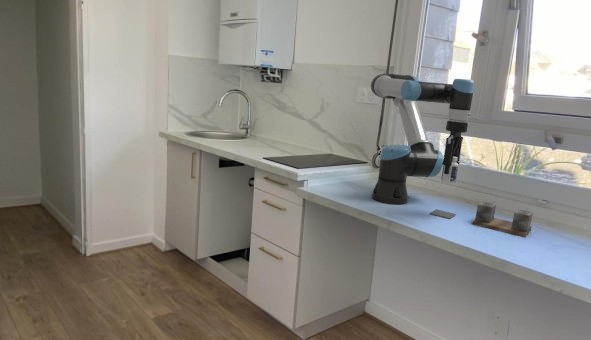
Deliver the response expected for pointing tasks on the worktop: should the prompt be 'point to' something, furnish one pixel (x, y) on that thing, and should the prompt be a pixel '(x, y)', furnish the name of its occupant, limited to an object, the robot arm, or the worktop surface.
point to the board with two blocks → (516, 227)
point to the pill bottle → (453, 170)
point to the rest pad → (442, 214)
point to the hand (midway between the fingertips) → (448, 180)
